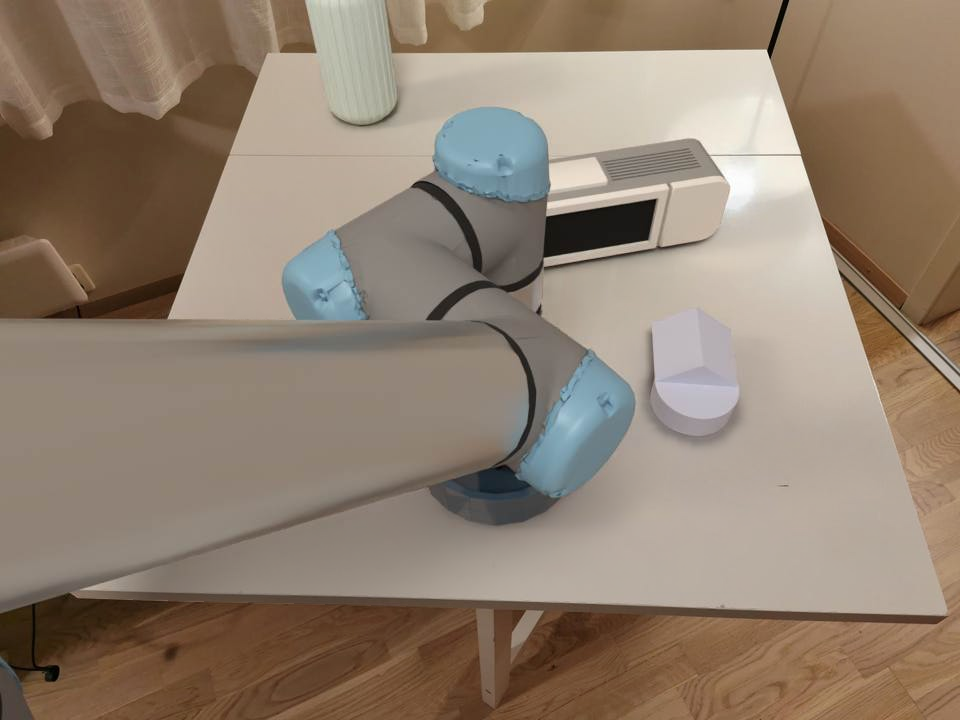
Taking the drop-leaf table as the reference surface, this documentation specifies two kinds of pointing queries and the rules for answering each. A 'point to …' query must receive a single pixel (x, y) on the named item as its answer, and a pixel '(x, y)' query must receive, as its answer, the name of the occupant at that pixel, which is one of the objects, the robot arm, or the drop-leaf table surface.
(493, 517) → the bowl
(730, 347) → the wedge on round base
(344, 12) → the vase
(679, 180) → the alarm clock
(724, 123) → the drop-leaf table surface
